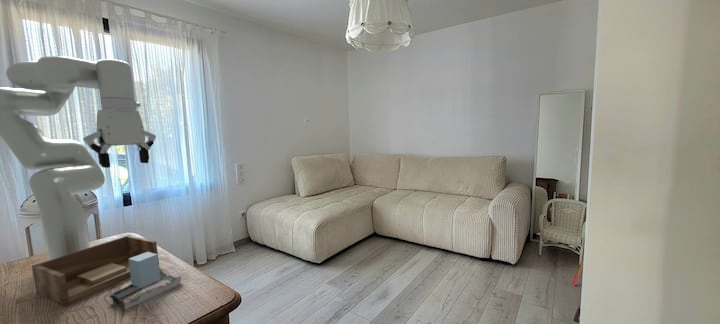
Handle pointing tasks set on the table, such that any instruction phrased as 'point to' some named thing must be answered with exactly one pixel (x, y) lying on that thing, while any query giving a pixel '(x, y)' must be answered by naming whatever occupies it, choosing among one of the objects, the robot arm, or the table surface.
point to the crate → (88, 270)
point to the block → (144, 269)
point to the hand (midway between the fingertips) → (126, 164)
